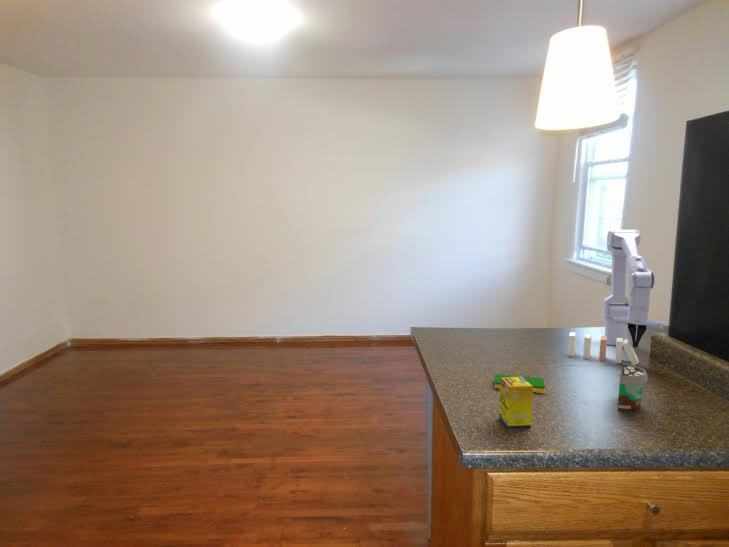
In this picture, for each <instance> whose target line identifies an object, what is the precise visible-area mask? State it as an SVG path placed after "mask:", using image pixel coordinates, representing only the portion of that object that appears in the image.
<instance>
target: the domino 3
mask: <svg viewBox="0 0 729 547" xmlns="http://www.w3.org/2000/svg"><path fill="white" fill-rule="evenodd" d="M607 345H608V344H607V336H605V335H601V336H600V343H599V354H598V361H599V360H603V361H602V362H606V358H607V357H606V356H607Z"/></svg>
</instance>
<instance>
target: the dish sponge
mask: <svg viewBox="0 0 729 547" xmlns="http://www.w3.org/2000/svg"><path fill="white" fill-rule="evenodd" d="M504 377H523V378H524V379H525V380H526V381H527V382H528V383H530V384H531V385H532V386H533V393H534V392H536V394H546V385H545V381H544V378H542V377H533V376H531V377H530V376H523V375H510V374H499V373H495V375H494V389H496V388H498V389H497V390H500V381H501V378H504Z"/></svg>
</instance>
